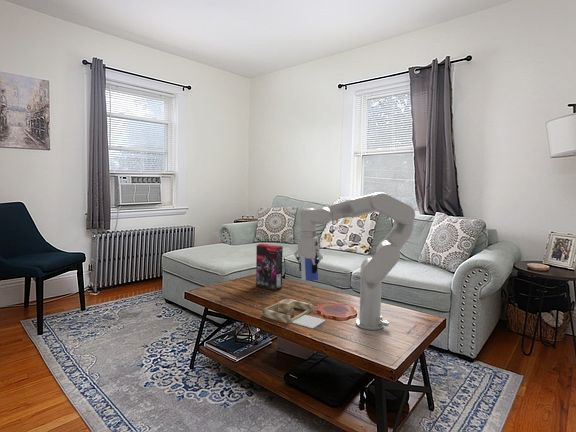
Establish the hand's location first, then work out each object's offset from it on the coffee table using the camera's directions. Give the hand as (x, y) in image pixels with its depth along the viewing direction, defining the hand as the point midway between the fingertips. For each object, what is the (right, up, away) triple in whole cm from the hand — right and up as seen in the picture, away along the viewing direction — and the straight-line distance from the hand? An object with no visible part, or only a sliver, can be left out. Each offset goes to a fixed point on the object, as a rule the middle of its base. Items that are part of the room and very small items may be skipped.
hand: (308, 271), depth 166 cm
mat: (0, -24, 0) cm, 24 cm away
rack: (-10, -23, +11) cm, 27 cm away
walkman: (+1, -4, 0) cm, 4 cm away
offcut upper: (-11, -20, +5) cm, 23 cm away
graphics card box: (-22, -19, +56) cm, 63 cm away
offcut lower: (-11, -24, +5) cm, 27 cm away
